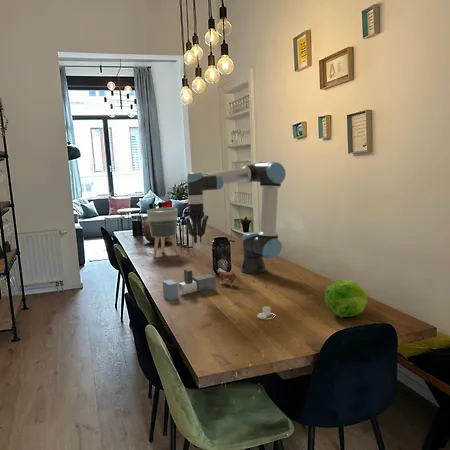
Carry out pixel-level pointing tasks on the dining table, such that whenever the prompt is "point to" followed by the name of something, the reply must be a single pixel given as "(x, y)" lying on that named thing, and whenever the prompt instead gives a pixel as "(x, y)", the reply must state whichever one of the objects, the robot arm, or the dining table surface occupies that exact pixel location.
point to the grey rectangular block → (205, 283)
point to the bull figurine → (226, 276)
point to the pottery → (149, 233)
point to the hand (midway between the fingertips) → (197, 248)
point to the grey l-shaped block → (188, 283)
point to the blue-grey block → (170, 289)
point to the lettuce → (345, 298)
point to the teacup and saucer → (265, 313)
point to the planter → (163, 226)
